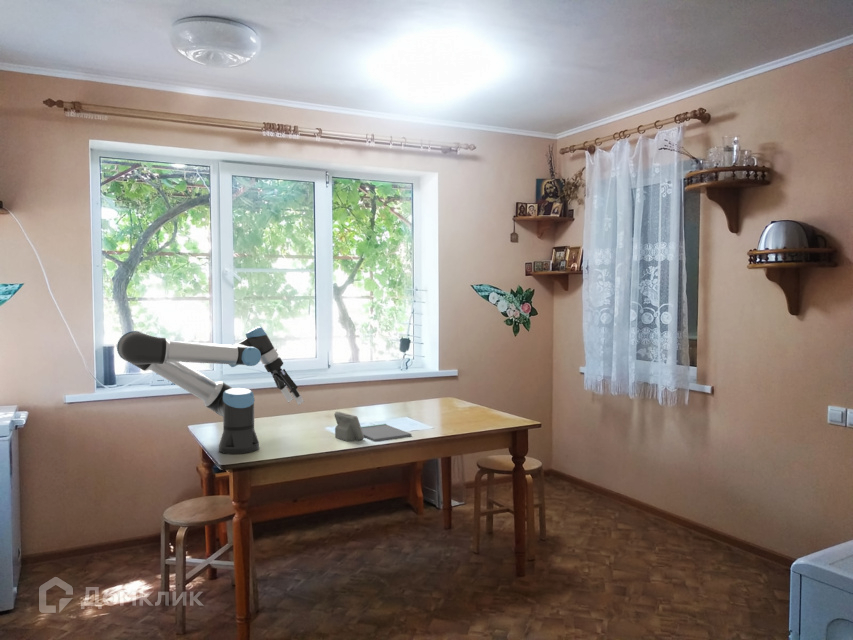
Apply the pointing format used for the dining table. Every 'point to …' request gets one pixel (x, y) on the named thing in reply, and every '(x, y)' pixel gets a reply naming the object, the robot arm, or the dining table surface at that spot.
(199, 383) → the robot arm
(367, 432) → the docking pad
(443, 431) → the dining table surface
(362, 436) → the digital clock
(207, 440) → the dining table surface
